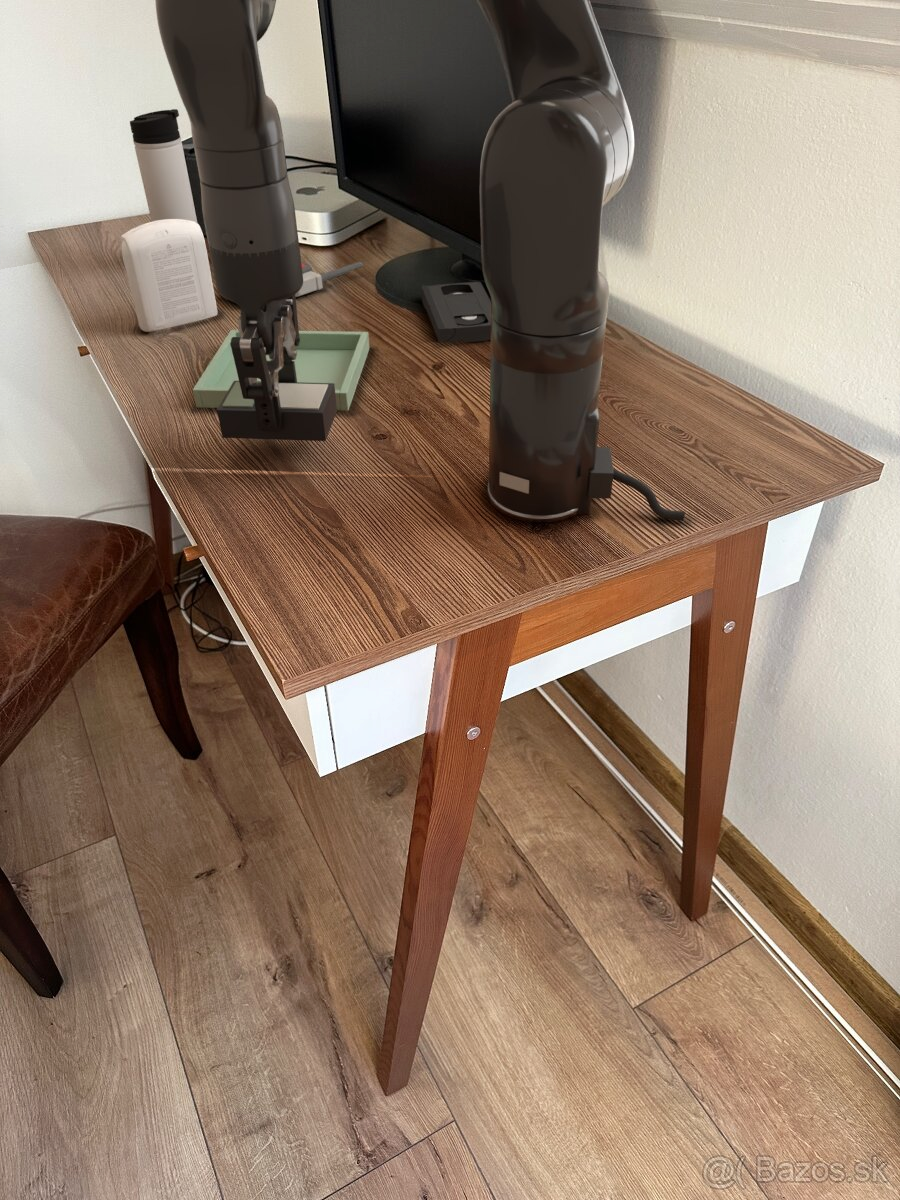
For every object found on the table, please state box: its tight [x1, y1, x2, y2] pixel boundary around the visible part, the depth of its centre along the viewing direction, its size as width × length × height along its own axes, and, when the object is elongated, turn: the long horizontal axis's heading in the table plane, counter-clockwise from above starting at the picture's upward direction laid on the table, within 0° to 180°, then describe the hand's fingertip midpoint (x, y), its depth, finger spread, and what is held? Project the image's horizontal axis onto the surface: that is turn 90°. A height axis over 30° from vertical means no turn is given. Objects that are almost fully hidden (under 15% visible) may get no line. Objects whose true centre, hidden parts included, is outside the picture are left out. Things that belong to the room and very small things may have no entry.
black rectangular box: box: [216, 381, 338, 442], centre depth 85 cm, size 10×6×3 cm, turn 85°
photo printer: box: [120, 219, 219, 333], centre depth 110 cm, size 10×4×12 cm, turn 123°
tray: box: [192, 329, 370, 411], centre depth 100 cm, size 17×16×2 cm
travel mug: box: [129, 108, 199, 224], centre depth 124 cm, size 6×7×20 cm
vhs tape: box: [420, 281, 491, 344], centre depth 112 cm, size 14×8×2 cm, turn 10°
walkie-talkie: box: [229, 260, 364, 304], centre depth 121 cm, size 9×4×20 cm
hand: (279, 412), depth 85 cm, fingers closed on black rectangular box, 6 cm apart
